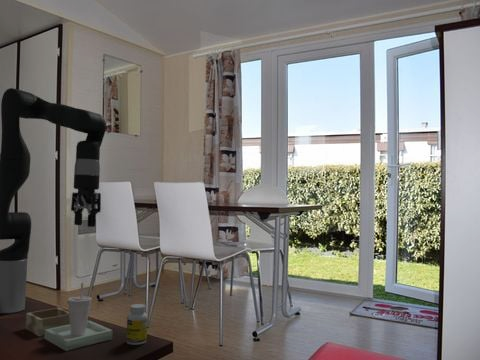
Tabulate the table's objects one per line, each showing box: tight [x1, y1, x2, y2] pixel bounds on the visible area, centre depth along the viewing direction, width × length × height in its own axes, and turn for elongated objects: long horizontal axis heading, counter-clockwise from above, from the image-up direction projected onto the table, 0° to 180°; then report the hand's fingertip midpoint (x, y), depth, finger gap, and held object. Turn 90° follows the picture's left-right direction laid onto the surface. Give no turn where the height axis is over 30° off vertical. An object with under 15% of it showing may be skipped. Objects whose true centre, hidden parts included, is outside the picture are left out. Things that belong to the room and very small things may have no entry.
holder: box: [25, 307, 70, 337], centre depth 121 cm, size 10×10×4 cm
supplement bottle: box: [126, 303, 149, 346], centre depth 112 cm, size 5×5×10 cm
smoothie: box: [66, 282, 93, 336], centre depth 113 cm, size 6×6×14 cm
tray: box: [43, 320, 114, 352], centre depth 113 cm, size 13×13×2 cm
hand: (84, 225), depth 128 cm, fingers open, 8 cm apart
